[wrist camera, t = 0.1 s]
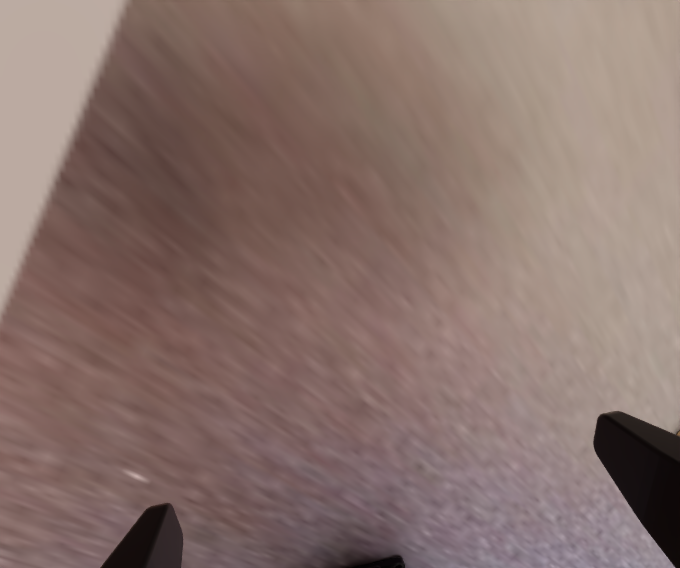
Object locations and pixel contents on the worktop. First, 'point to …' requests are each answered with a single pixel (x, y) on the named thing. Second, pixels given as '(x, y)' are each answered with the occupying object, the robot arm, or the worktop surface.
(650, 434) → the robot arm
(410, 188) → the worktop surface
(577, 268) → the worktop surface
